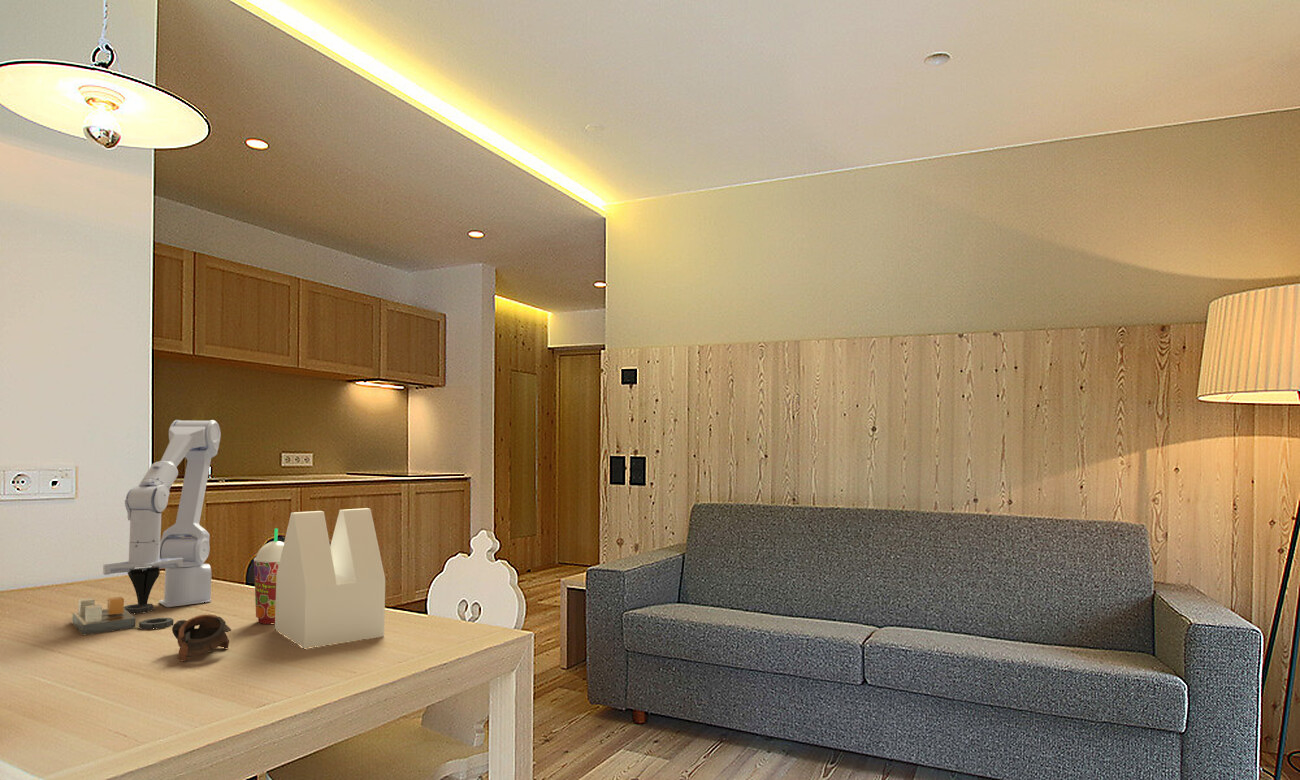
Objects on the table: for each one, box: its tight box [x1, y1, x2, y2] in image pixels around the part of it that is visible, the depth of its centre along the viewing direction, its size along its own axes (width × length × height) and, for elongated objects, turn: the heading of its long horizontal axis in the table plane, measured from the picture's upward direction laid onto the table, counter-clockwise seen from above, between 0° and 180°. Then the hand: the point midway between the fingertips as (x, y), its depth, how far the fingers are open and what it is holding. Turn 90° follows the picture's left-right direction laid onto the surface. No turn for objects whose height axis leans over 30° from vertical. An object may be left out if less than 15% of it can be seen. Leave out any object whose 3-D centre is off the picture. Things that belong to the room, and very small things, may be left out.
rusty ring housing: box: [171, 613, 232, 662], centre depth 143 cm, size 12×10×8 cm
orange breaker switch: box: [106, 596, 125, 615], centre depth 167 cm, size 2×3×3 cm
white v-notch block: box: [274, 507, 386, 648], centre depth 160 cm, size 19×15×25 cm
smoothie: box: [253, 528, 284, 625], centre depth 170 cm, size 8×8×20 cm
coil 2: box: [138, 617, 174, 630], centre depth 164 cm, size 6×6×1 cm
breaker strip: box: [72, 597, 137, 636], centre depth 165 cm, size 9×14×5 cm, turn 43°
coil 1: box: [124, 603, 154, 615], centre depth 178 cm, size 6×6×1 cm
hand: (142, 604), depth 170 cm, fingers closed
